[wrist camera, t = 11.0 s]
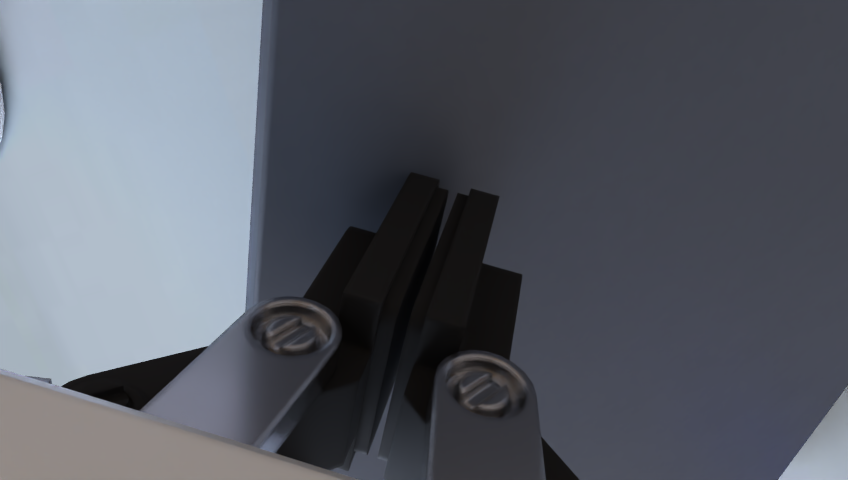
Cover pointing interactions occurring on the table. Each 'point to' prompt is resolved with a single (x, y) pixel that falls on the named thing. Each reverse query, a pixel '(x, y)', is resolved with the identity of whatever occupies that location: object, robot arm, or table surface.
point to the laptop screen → (592, 201)
